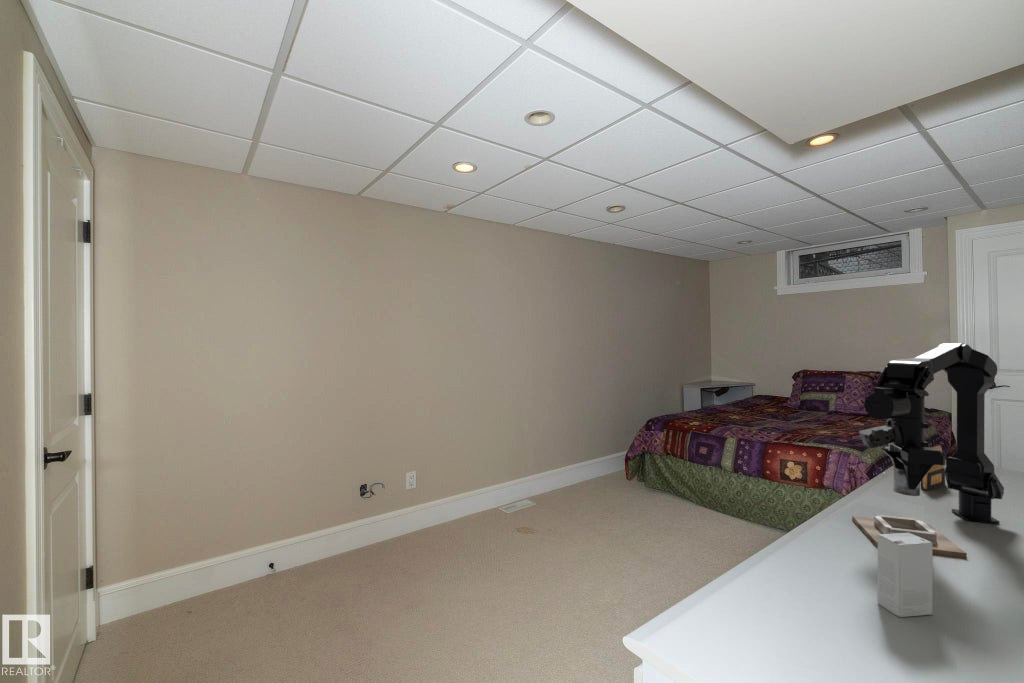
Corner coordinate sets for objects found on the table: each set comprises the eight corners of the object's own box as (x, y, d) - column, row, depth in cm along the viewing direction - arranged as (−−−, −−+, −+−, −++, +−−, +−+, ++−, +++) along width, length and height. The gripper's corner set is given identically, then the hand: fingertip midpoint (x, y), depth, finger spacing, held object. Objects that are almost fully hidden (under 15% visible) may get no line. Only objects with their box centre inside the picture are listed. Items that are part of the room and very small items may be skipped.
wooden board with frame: (852, 519, 111) (852, 507, 111) (929, 528, 106) (929, 515, 106) (876, 546, 97) (876, 532, 97) (966, 558, 92) (966, 543, 92)
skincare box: (907, 600, 77) (907, 530, 77) (934, 616, 73) (934, 542, 73) (875, 603, 77) (874, 532, 77) (900, 619, 72) (900, 544, 72)
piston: (889, 488, 104) (890, 466, 104) (914, 490, 103) (914, 468, 103) (898, 494, 100) (898, 472, 100) (924, 497, 99) (924, 474, 99)
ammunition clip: (928, 490, 131) (928, 449, 131) (920, 488, 133) (920, 448, 133) (945, 484, 136) (945, 445, 136) (937, 483, 138) (937, 443, 137)
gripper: (849, 408, 113) (849, 470, 113) (880, 421, 96) (879, 494, 96) (905, 411, 109) (904, 475, 109) (947, 424, 92) (946, 501, 92)
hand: (906, 485), depth 102 cm, fingers closed on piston, 4 cm apart
